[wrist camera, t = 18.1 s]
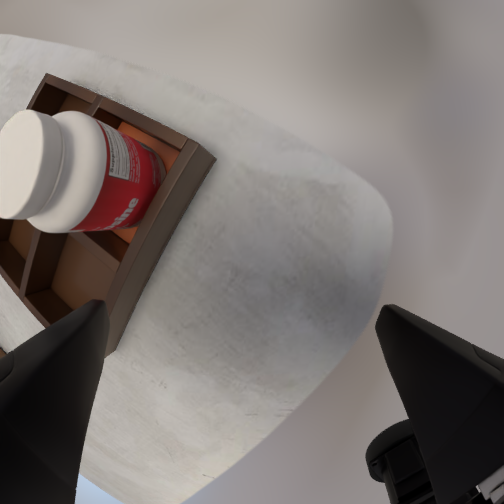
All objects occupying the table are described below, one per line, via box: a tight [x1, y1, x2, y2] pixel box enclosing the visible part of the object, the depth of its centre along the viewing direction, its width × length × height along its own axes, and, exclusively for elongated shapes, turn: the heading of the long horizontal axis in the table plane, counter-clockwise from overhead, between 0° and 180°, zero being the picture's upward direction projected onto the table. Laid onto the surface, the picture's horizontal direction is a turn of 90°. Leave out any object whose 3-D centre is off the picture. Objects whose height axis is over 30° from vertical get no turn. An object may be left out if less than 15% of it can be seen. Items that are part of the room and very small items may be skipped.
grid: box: [0, 73, 216, 358], centre depth 18 cm, size 17×17×4 cm
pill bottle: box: [0, 110, 166, 233], centre depth 13 cm, size 6×6×11 cm
